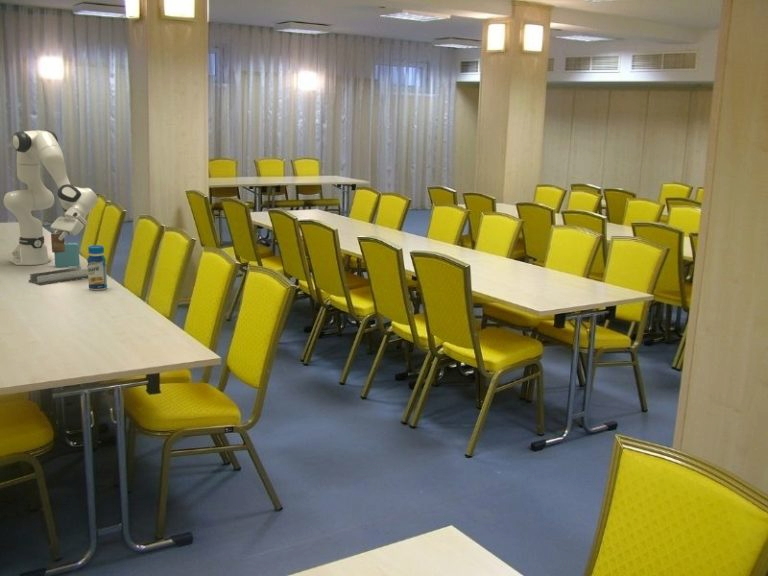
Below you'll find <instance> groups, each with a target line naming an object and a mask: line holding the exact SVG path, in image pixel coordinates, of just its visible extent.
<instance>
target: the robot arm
mask: <svg viewBox="0 0 768 576" xmlns="http://www.w3.org/2000/svg"><path fill="white" fill-rule="evenodd" d="M11 140H12V141H11V142H12V147H13V148H14V151H16V177H17V179H18V180H19V181H20V182H22V183H24V184H26V185H27V189H20V190H18V189H17V190H12V191H9V192H7V193H5V194H4V197H3V205H4V207H5V208H6V210H8V211H9V212H11V213H12V214H13V215H14V216H15V217H16V220H17V222H18V225H19V232H20V233H19V235H20V236H19V238H18V245H17V246H16V247H15V248H14V249H13V251H12V253H11V254H12V258H8V262H10V263H12V264H14V265H15V266H36V265H44V264H47V263H49V262H51V258H49V254H48V253H49V252H48V247H47V245H45V236H44V232H43V231H44V230H43V228H44V227H43V222H42V221H41V219H39V218H37V217H35V216H33V215H32V211H42V210H46V209H47V210H48V209H50V208H52V207H53V205H54V204H55V196H54V194H53V193H52V191H51V190H50V189H48V188H47V187H46V186H45V184H44V183H43V180H42V177H41V163H42V165H43V166H44V167H45V170H46V171H47V172H48V173H49V174H50V176H51V177H52V179H53V181H54V182H55V184H56V186H57V188H58V189H57V192H56V193H57V197H58V200H59V202H60V205H61V208H62V210H63V212H64V215H61V216H58V217H57V218H56V219H55V220H54V221H53V222H52V223H51V225H50V227H49V228H50V229H51V230H52V231H53V232H54V233H62V234H61V235H60V236H58V238H57V239H58V240H60V241H61V240H62V239H63V238H64V239H65V238H66V237H67V236H68V235H70V236H73V237H74V236H77V235H79V233H80V232H82V230H83V229H84V228H85V227H86V226H87V225H88V221H87V220H86V218H87V216H88V215H89V214H90V213H91V212H92V210H93V209H94V208H95V206H96V205H97V203H98V201H99V197H98V195H97V193H96V192H95V191H94V190H93V189H91V188H90V187H78V186H75V185H73V184H71V182H70V179H69V178H68V174H67V168H66V162H65V157H64V153H63V151H62V149H61V147H60V144H59V138H58V136H57V135H56V133H55V132H54V131H51V130H38V129H37V130H35V129H34V130H26V131H23V130H20V131H17V132H15V133H14V134H13V136H12V139H11ZM40 161H41V163H40Z"/></svg>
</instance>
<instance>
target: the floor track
mask: <svg viewBox="0 0 768 576" xmlns="http://www.w3.org/2000/svg"><path fill="white" fill-rule="evenodd" d="M82 278H85V279H88V268H85V269H82V267H81V266H77V267H68V268H62V269H56V270H49V271H48V270H47V271H43V272H36V273H29V279H28V282H29V283H31V282H32V283H31V284H34V283H35V284H34V285H38V286H45V285H51V284H52V283H53V284H57V283H58V282H59V283H64V282H71V281H70V280H72V281H76V279H78V280H83V279H82Z"/></svg>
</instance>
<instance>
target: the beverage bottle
mask: <svg viewBox="0 0 768 576" xmlns="http://www.w3.org/2000/svg"><path fill="white" fill-rule="evenodd" d="M104 248H105V247H104V246H103V245H99V244H98V245H89V246H88V249H87V250H88V254H89V256H88V258H87V260H86V261H87V266H86V269H88V278H87V280H88V289H89V290H91V291H103V290H106V289H108V277H107V275H108V274H107V264H106V262H107V259H106V258H105V255H103V254H104V252H105V249H104Z"/></svg>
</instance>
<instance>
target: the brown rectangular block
mask: <svg viewBox="0 0 768 576" xmlns="http://www.w3.org/2000/svg"><path fill="white" fill-rule="evenodd" d="M61 234H62V233H55V232H53V233H50V240H51V243H50V244H51V253H60V252H65V244H64V243H65V237H64V238H63V239H62V240H61V241H60V240H58V239H57V238H58V236H60V235H61Z"/></svg>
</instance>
